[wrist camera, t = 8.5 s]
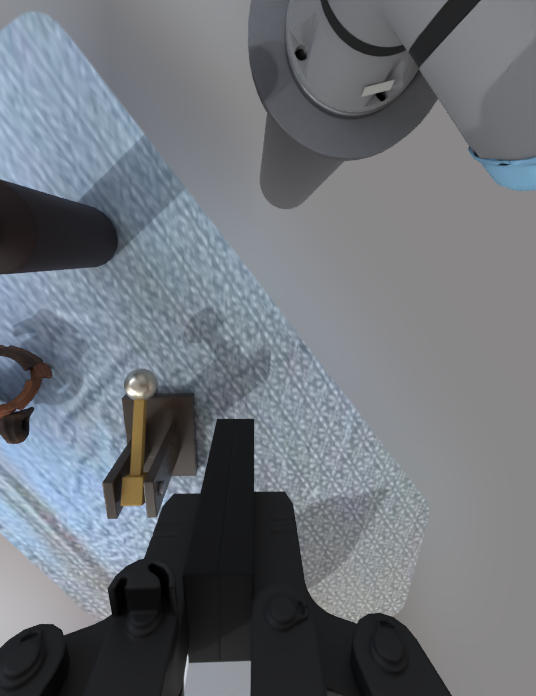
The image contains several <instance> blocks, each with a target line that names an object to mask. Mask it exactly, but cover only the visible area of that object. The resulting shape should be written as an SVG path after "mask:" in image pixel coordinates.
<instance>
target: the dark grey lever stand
mask: <svg viewBox="0 0 536 696" xmlns="http://www.w3.org/2000/svg"><path fill="white" fill-rule="evenodd" d="M122 405H123V413H124V421H125V429H126V437H127V446H126V447H125V449H124V450H123V452H122V454H121V455H120V457H119V458H118V460H117V461H116V463H115V464H114V466H113V467H112V469H111V470H110V472H109V473H108V475H107V477H106V478H105V480H104V481H103V483H102V485H103V491H104V498H105V504H106V511H107V517H108V519H117V518H118V516H119V514H120V512H121V510H122V508H123V506H121V491H122V478H123V477H124V476H126V475H128V474H129V473H130V468H131V449H132V430H133V411H134V400H133V399H131V398H130V397H128V396H127V394H125V396H124V397H123V398H122ZM197 470H198V466H197V448H196V430H195V411H194V394H154V396H152V397H151V398H150V399H148V400H147V407H146V429H145V450H144V471H143V472H148V474H147V476H146V478H145V480H144V482H143V483H144V492H145V501H146V510H147V517H148V518H150V517H157V515H158V512H159V509H160V507H161V504H162V501H163V498H164V496H165V493H166V490H167V487H168V484H169V482H170V479H171V476H196V474H197Z"/></svg>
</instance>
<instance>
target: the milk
mask: <svg viewBox="0 0 536 696" xmlns="http://www.w3.org/2000/svg"><path fill="white" fill-rule="evenodd" d="M250 688H251V661H237V662H208V663H189V660H188V655H187V661H186V667H185V673H184V696H250Z"/></svg>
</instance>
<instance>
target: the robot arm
mask: <svg viewBox="0 0 536 696" xmlns="http://www.w3.org/2000/svg"><path fill="white" fill-rule="evenodd" d="M284 45H285V53H286V59H287V63H288V66H289V70H290V72H291V75H292V77H293V80H294V82H295V83H296V85H297V87H298V89H299V90H300V92H301V93H302V94H303V96H304V97H305V98H306V99H307V100H308V101H309V102H310V103H311V104H312V105H313V106H314V107H316V108H317V109H319V110H320V111H322V112H323V113H325V114H327V115H330V116H332V117H336V118H340V119H350V120H352V119H361V118H365V117H369V116H372V115H374V114H376V113H378V112H380V111H382V110H383V109H385V108H386V107H388V106H389V105H390V104H391V103H393V102H394V101H395V100H396V99H397V98H398V97H399V96H400V95H401V93H402V92H403V91H404V90H405V89H406V88H407V87H408V85H409V84H410V83H411V81H412V80H413V78H414V77H415V75H416V73H417V71H418V70H420V72H421V73H422V75H423V76H424V78H425V79H426V81H427V82H428V84H429V85H430V87H431V88H432V90H433V91H434V93H435V95H436V96H437V98H438V99H439V100H440V102H441V104H442V105H443V106H444V108H445V110H446V111H447V113H448V114H449V116H450V117H451V119H452V120H453V122H454V123H455V125H456V127H457V128H458V129H459V131H460V132H461V134H462V136H463V137H464V139H465V140H466V142H467V143H468V145H469V152H470V154H471V155H472V157H473V158H474V159H475V160H477V161H479V162H480V163H481V164H482V165H483V166H484V168H485V169H486V171H487V172H488V173H489V175H490V176H491V177H492V179H493V180H494V181H495V182H496V183H497V184H499V185H500V186H503V187H506V188H509V189H512V190H517V191H529V190H536V0H289V2H288V7H287V13H286V19H285V28H284ZM108 593H109V599H110V605H111V611H112V615H110V616H109V617H107V618H106V619H105V620H102V621H100V622H98V623H96V624H94V625H92V626H89V627H86V628H83V629H80V630H78V631H75V632H72V633H70V634H67V635H63V632H62V630H61V629H60V628H58V627H56V626H54V625H53V624H39V625H36V626H33V627H31V628H28V629H25V630H23V631H22V632H20V633H19V634H17V635H15V636H14V637H12V638H11V639H9V640H8V641H7V642H6V643H5V644H4V645H3V646H2V647H1V648H0V696H184V673H185V667H186V661H187V655H188V660H189V663H208V662H237V661H251V688H250V696H452V695H451V694H450V692H449V691H448V689H447V688H446V686H445V684H444V682H443V681H442V679H441V678H440V676H439V674H438V673H437V671H436V670H435V668H434V666H433V665H432V663H431V662H430V660H429V658H428V657H427V655H426V654H425V652H424V650H423V649H422V647H421V646H420V644H419V643H418V641H417V639H416V638H415V637H414V636H413V634H412V633H411V632H410V631H409V630H408V629H407V627H406V626H405V625H403V624H402V623H400V622H399V621H398V620H396V619H395V618H394V617H391V616H388V615H385V614H382V613H373V614H368V615H366V616H364V617H363V618H361V619H360V620H359V621H358V623H357V624H356V623H354V622H351V621H348V620H345V619H342V618H339V617H336V616H334V615H332V614H330V613H327V612H326V611H324V610H323V609H322V608H321V607H319V606H318V605H317V604H316V603H315V601H314V600H313V599H312V598H311V596H310V594H309V592H308V590H307V588H306V584H305V580H304V573H303V567H302V560H301V554H300V547H299V541H298V534H297V527H296V521H295V514H294V508H293V503H292V502H291V500H290V499H289V497H288V496H287V494H286V493H285V492H254V419H217V422H216V426H215V431H214V435H213V440H212V444H211V449H210V453H209V458H208V462H207V467H206V471H205V476H204V480H203V485H202V489H201V494H173V495H172V497H171V498H170V499H169V500H168V501H167V502H166V503H165V504H164V506H163V507H162V510H161V513H160V516H159V518H158V521H157V524H156V527H155V529H154V532H153V537H152V538H151V541H150V543H149V546H148V549H147V552H146V555H145V557H144V559H141V560H138V561H136V562H134V563H132V564H130V565H128V566H126V567H125V568H124V569H123V570H122V571H121V572H120V573H118V574H117V575H116V576H115V578H114V579H113V581H112V583H111V584H110V586H109V587H108Z"/></svg>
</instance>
